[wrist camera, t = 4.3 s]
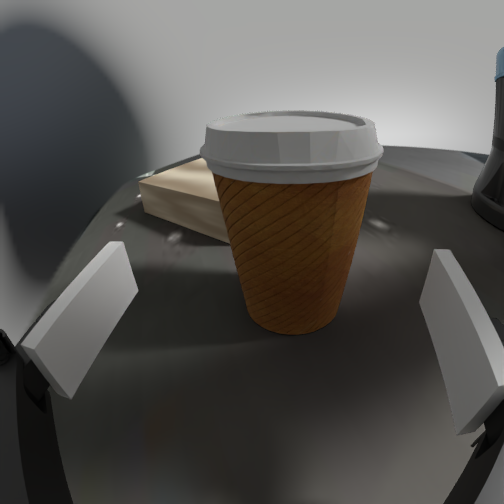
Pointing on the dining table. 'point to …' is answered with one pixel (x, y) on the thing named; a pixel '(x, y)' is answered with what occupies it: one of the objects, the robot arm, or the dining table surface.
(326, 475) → the dining table surface
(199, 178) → the wooden base block
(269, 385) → the dining table surface
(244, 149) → the disposable coffee cup
